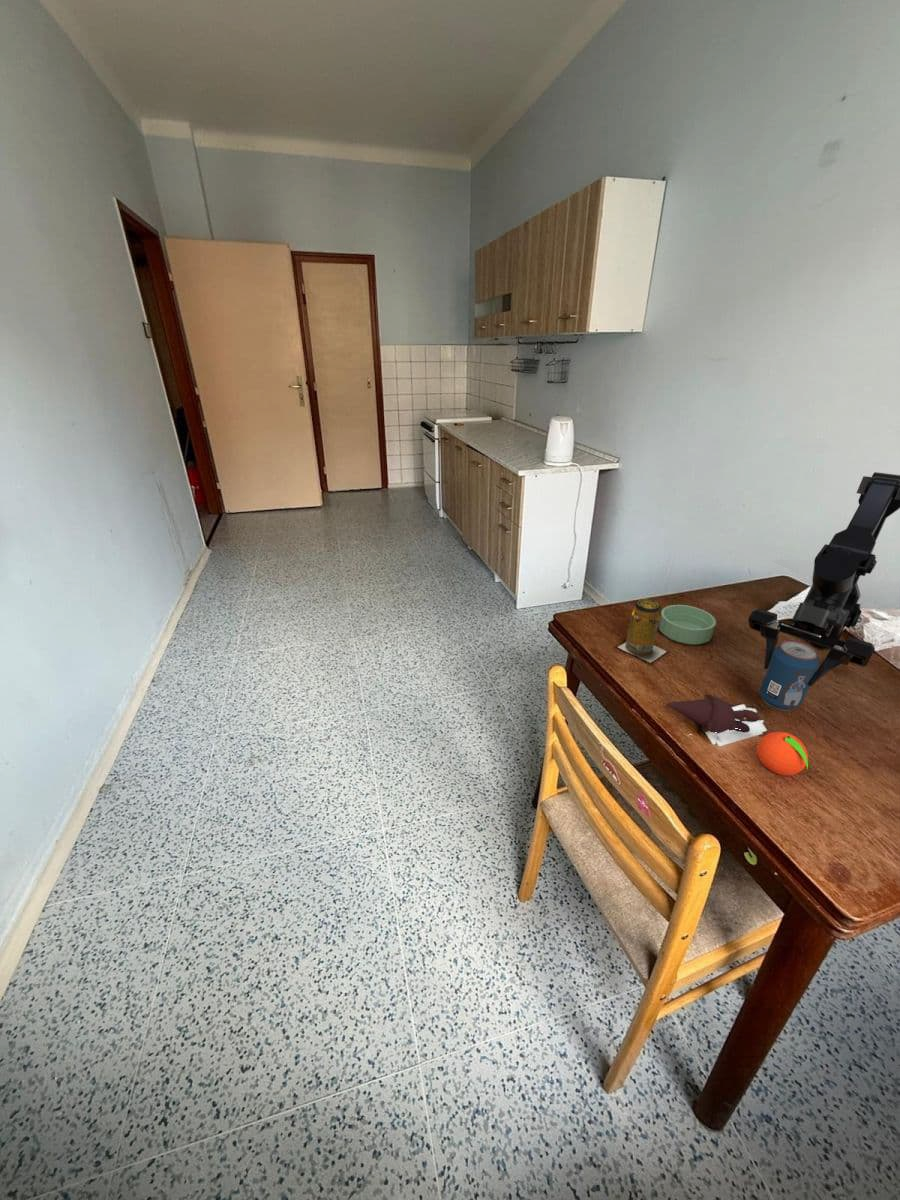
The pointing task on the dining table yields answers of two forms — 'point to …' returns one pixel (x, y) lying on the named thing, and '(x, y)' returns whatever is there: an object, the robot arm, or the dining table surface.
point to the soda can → (789, 675)
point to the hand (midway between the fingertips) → (786, 676)
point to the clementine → (782, 753)
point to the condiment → (643, 631)
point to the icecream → (715, 714)
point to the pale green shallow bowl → (686, 624)
